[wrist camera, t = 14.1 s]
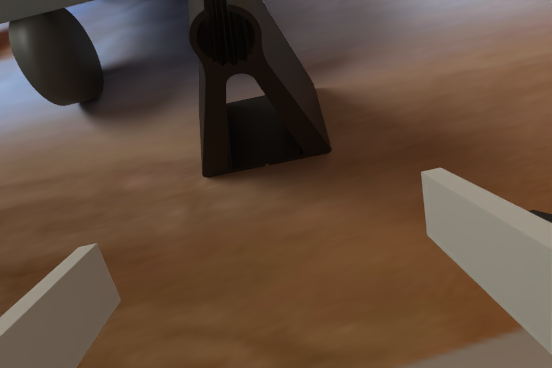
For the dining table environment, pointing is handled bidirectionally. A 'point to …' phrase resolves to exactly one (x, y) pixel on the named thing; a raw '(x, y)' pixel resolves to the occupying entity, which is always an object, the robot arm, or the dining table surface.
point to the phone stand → (255, 111)
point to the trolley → (53, 49)
